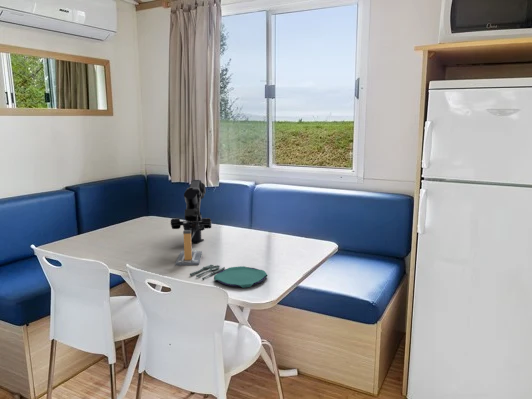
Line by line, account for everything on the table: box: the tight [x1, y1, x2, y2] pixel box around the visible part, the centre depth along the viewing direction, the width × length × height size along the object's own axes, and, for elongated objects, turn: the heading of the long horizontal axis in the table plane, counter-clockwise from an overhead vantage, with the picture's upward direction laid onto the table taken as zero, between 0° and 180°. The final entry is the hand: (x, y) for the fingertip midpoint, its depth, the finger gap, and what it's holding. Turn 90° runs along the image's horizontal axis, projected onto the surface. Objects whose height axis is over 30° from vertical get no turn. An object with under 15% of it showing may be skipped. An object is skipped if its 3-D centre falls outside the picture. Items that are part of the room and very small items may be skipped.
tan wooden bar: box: [182, 229, 193, 260], centre depth 181 cm, size 2×3×13 cm
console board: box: [175, 249, 203, 266], centre depth 186 cm, size 16×10×2 cm, turn 4°
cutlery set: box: [189, 264, 269, 289], centre depth 165 cm, size 20×30×2 cm, turn 60°
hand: (190, 239), depth 191 cm, fingers closed
